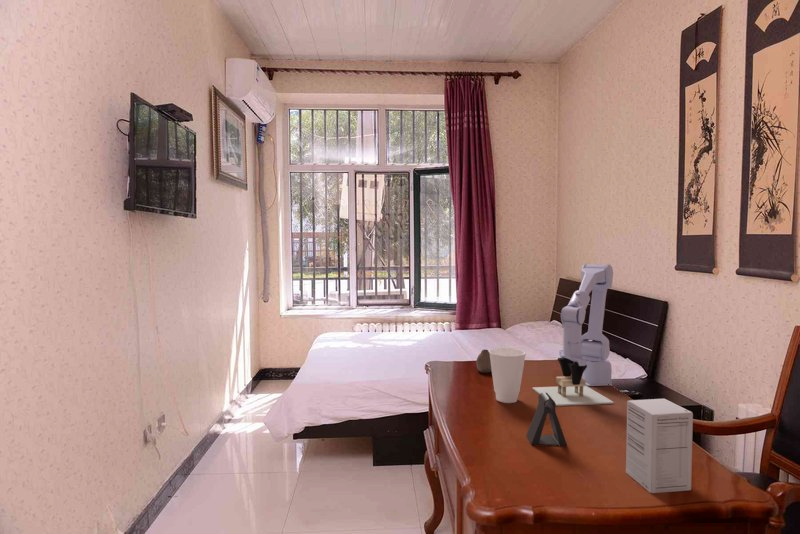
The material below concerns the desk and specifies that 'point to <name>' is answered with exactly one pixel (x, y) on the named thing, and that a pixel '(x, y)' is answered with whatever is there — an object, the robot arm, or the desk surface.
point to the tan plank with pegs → (569, 385)
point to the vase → (484, 362)
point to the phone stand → (539, 419)
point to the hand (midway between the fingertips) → (571, 381)
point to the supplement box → (659, 445)
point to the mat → (573, 396)
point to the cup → (507, 373)
